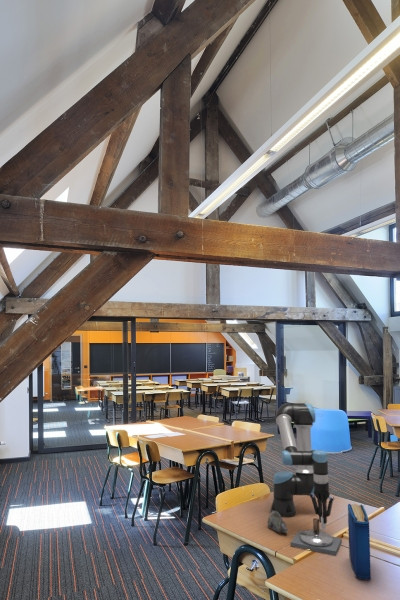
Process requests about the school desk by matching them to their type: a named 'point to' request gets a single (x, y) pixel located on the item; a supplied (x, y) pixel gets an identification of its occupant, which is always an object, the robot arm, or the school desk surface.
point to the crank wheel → (316, 536)
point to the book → (359, 541)
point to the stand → (329, 549)
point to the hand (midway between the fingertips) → (323, 529)
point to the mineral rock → (277, 522)
